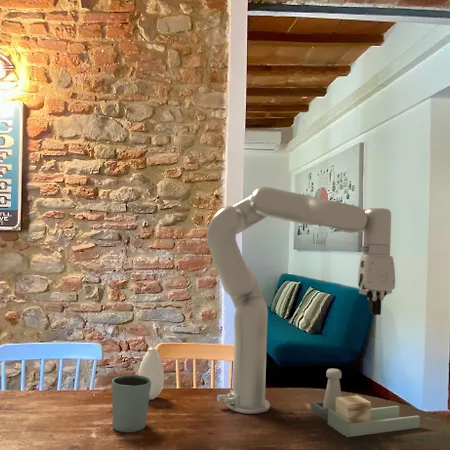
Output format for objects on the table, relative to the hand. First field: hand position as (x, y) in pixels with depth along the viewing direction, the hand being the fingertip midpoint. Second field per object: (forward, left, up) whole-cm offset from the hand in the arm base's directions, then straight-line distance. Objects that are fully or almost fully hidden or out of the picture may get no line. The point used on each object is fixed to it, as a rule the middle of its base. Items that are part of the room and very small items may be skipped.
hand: (374, 314), depth 151 cm
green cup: (-68, +11, -29) cm, 75 cm away
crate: (-12, -7, -29) cm, 32 cm away
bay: (-5, -7, -29) cm, 30 cm away
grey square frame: (-11, +3, -29) cm, 31 cm away
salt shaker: (-11, +3, -29) cm, 32 cm away
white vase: (-58, +31, -29) cm, 72 cm away
